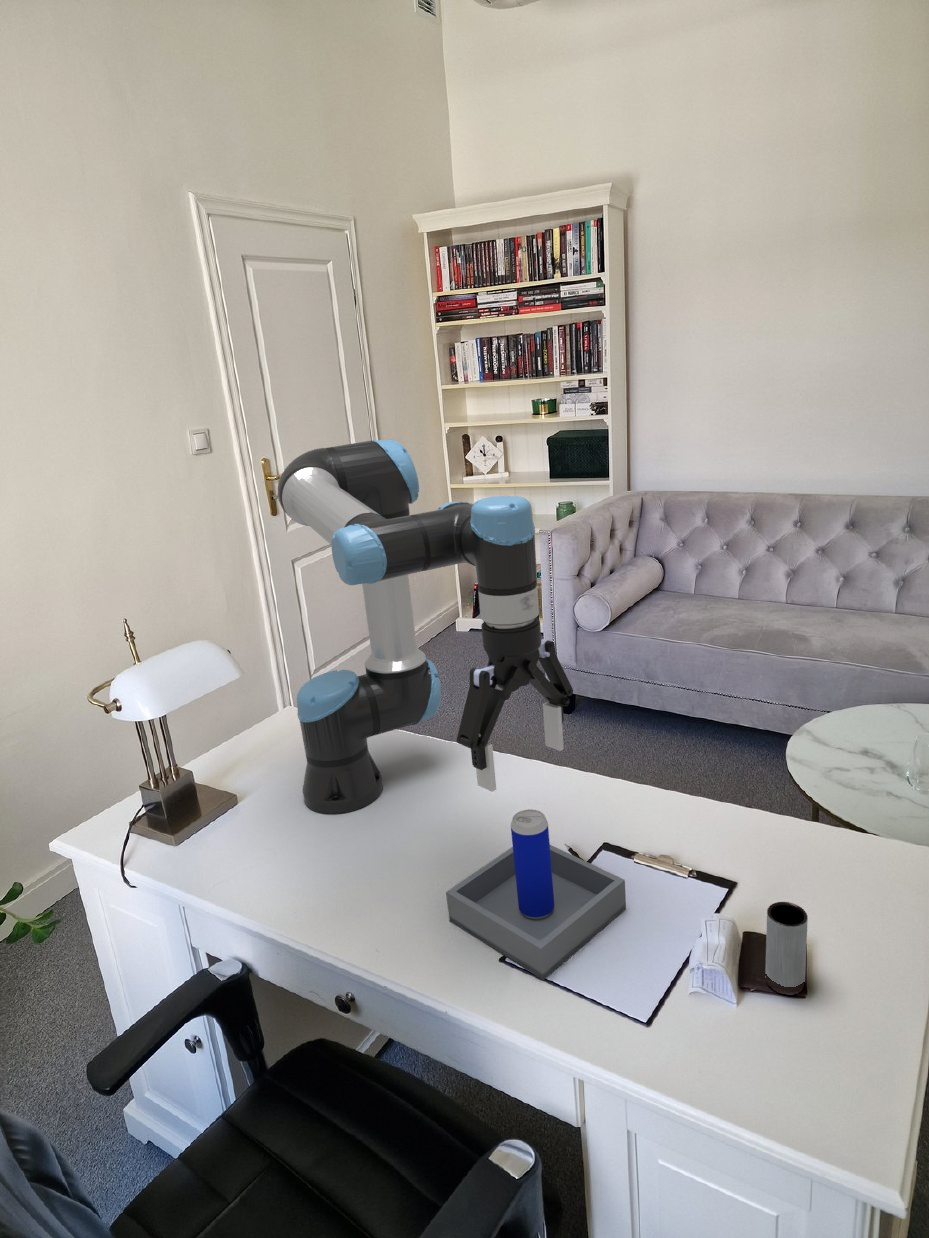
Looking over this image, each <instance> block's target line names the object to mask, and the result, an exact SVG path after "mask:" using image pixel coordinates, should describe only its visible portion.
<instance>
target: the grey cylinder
mask: <svg viewBox="0 0 929 1238" xmlns="http://www.w3.org/2000/svg"><path fill="white" fill-rule="evenodd" d="M808 922H809V921H808V913H807V912H806V911H805V910H804V908H803V907H801V906H800V905H798V904H796V903H793V902H789V901H778V902H774V903H772V904H770V905H769V906H768V907H767V910H766V931H765V932H766V940H765V974H767V976H768V977H769V978H770V979H771V980H772V981H774V982H776V983H777V984H780V985H781V986H784V987H796V986H798V985H800V984H802V983H803V982H805V983H806V968H807V967H806V965H807V945H808V944H807V943H808V942H807V940H808Z"/></svg>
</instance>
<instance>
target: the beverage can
mask: <svg viewBox="0 0 929 1238" xmlns="http://www.w3.org/2000/svg"><path fill="white" fill-rule="evenodd" d="M549 830H550V829H549V822H548V820H547V818H546V815H545V814H544V813H543V812H542V811H540V810H537V809H523V810H520V811H518V812H516V813H515V814H514V815H513V816H512V819H511V823H510V831H511V840H512V841H511V842H512V847H513V855H514V865H515V875H516V886H517V896H518V907H519V910H520V911H521V913H522V914H523V915H525V916H526V917H528V918H531V919H541V918H544V917H546V916H548V915H549V914H550V913H551V912H552V911H553V909H554V893H553V880H552V868H551V855H550V845H551V844H550V835H549V833H550V831H549Z"/></svg>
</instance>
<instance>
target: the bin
mask: <svg viewBox="0 0 929 1238" xmlns="http://www.w3.org/2000/svg"><path fill="white" fill-rule="evenodd" d="M550 855H551V868H552V880H553V893H554V909H553V911H552V912H551V913H550V914H549V915H548V916H546V917H544V918H541V919H531V918H528V917H526V916H525V915H523V914H522V913H521V911H520V910H519V907H518V896H517V886H516V875H515V865H514V855H513V846H512V847H510V848H508V849H507V850H505V852H503V853H501V854H500V855H498V856H497V857H496V858H494V859H492V860H491V861H490V862H488V863H486V864H485V865H484V866H482V867H480V868H479V869H478V870H477V871H474V872H473V873H472V874H470V875H469V876H467V877H466V878H464V879H462V880H461V881H460V882H459V883H457V884H455V885H454V886H452V888H450V889H448V890H447V891H445V895H446V904H447V911H448V913H447V914H448V921H449V923H452V924H453V925H455V926H457V927H458V928H459V929H461V930H463V931H464V932H466V933H467V934H469V935H471V936H472V937H474V938H476V939H477V940H479V941H480V942H482V943H483V944H485V945H486V946H488V947H490V948H492V949H493V950H495V951H496V952H498V953H499V954H501V955H502V956H504V957H506V958H507V959H508V960H510V961H512V962H513V963H515V964H517V965H518V966H520V967H521V968H523V969H524V970H526V971H528V972H529V973H531V974H532V975H534V976H536V977H537V978H539V979H540V980H542V981H545V980H546V979H548V977H549V976H550V975H552V974H553V973H554V972H555V971H556V970H558V969H559V968H560V967H561V966H562V965H564V964H565V963H566V962H567V961H568V960H569V959H570V958H572V957H573V955H575V954H576V953H577V952H579V951H580V950H581V949H582V948H583V947H585V946H586V945H587V944H588V943H589V942H590V941H592V939H593V938H594V937H596V936H597V935H598V934H599V933H600V932H602V931H603V930H604V929H605V928H606V927H607V926H609V925H610V924H611V923H612V922H613V921H614V920H615V919H617V918H618V917H619V916H620V915H621V914H623V912H625V911H626V910H627V905H626V904H627V902H626V900H627V899H626V897H627V896H626V880H625V879H624V878H622V877H619V876H617V875H615V874H614V873H611V872H610V871H607V870H605V869H603V868H601V867H599V866H597V865H594V864H592V863H590V862H588V861H586V860H583V859H582V858H579V857H578V856H575V855H574V854H571V853H569V852H567V851H564V850H562V849H560V848H558V847H556V846H554V845H552V844H550Z"/></svg>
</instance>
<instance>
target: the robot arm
mask: <svg viewBox="0 0 929 1238" xmlns="http://www.w3.org/2000/svg"><path fill="white" fill-rule="evenodd" d="M419 493H420V485H419V477H418V473H417V470H416V467H415V464H414V462H413V459H412V458H411V455H410V453H409V451H407V449H406V448H405V446H404V445H402V443H400V442H399V441H398V440H394V439H378V440H377V439H372V440H366V441H360V442H354V443H348V444H342V445H341V444H340V445H337V446H336V445H335V446H330V447H319V448H314V449H311V450H308V451H306V452H304V453H302V454H300V455H299V456H297V457H295V458H294V459H293V460H292V461H291V462H290V463H289V464H288V465H287V466H286V467H285V469H284V470H283V472H282V473H281V475H280V477H279V480H278V485H277V499H278V502H279V504H280V507H281V508H282V510H283V512H284V513H285V514H286V515H287V516H288V517H289V518H290V519H291V520H293V522H296V524H299V525H301V526H306V527H310V528H311V529H312V530H314V532H315V533H316V534H318V535H319V536H321V538H323V539H324V540H325V542H327V543H328V544H330V545H331V547H330V548H331V555H332V559H333V560H332V561H333V563H334V567H335V570H336V572H337V574H338V576H339V578H340V580H341V581H342V582H343V583H344V584H345V585H349V586H355V585H356V586H357V585H362V586H361V587H362V591H363V592H362V593H363V600H364V607H365V608H364V609H365V614H366V621H367V630H368V636H369V637H368V638H369V643H370V650H371V651H370V652H371V654H370V655H368V657H367V658H366V660H365V663H364V666H365V667H364V668H365V674H361V675H357V674H356V673H355V672H354V671H352V670H349V669H341V670H337V669H336V670H332V671H327V672H324V673H321V674H319V675H317V676H314V677H312V678H311V679H309V680H308V681H306V682H305V683H304V684H303V685H302V686H301V687H300V689H299V690H298V691H297V695H296V706H297V707H296V709H297V718H298V720H299V725H300V730H301V735H302V741H303V747H304V753H305V758H306V766H305V774H304V778H303V779H304V780H303V786H302V797H303V802H304V804H305V805H306V807H307V808H309V809H310V810H312V811H314V812H317V813H321V814H332V815H333V814H342V813H343V814H344V813H349V812H353V811H356V810H359V809H362V808H364V807H366V806H368V805H370V804H372V803H373V802H374V801H376V799H378V798H379V797H380V796H381V794H382V793H383V789H384V783H383V777H382V774H381V772H380V770H379V768H378V766H377V764H376V763H375V761H374V759H373V756H372V754H371V752H370V751H369V745H368V738H371V737H373V736H377V735H381V734H385V733H388V732H392V731H396V730H399V729H403V728H407V727H409V726H416V725H418V724H420V723H421V722H424V721H427V720H431V718H434V717H435V715H436V713H437V712H438V711H439V708H440V706H441V699H442V687H441V680H440V678H439V672H438V670H437V667H436V665H435V664H434V662H432V660H430V659H428V658H427V656H426V654H425V652H423V651H422V650H421V649H419V648H418V647H417V646H418V645H417V638H416V631H415V630H416V628H415V622H414V611H413V603H412V595H411V588H410V578H409V575H412V574H416V573H421V572H427V571H430V570H431V571H432V570H435V569H441V568H445V567H449V566H454V565H459V564H464V563H466V564H469V565H471V566H473V567H475V571H476V580H477V591H478V593H477V594H478V604H479V614H480V620H481V621H483V622H482V624H481V625H480V626H481V636H482V638H481V639H482V646H483V650H484V652H485V653H486V655H487V657H488V662H487V665H486V666H485V667H483V668H480V669H479V668H477V667H471V668H470V670H469V687H468V691H467V695H466V698H465V699H466V700H465V704H464V708H463V711H462V717H461V720H460V725H459V728H458V732H457V736H456V743H457V744H459V745H461V746H463V747H466V748H468V749H470V752H471V753H470V754H471V763H472V764H471V765H472V766H473V767H474V768H475V770H476V779H477V786H478V787H481V788H482V789H485V790H488V791H489V792H494V791H495V792H496V790H497V782H496V772H495V771H496V770H495V761H494V760H495V759H494V758H495V757H494V750H493V749H494V748H493V743H490V742H489V740H490V737H491V736H492V733H493V731H494V728H495V725H496V723H497V721H498V718H499V716H500V714H501V711H502V709H503V706H504V704H505V702H506V701H507V700H508V699H510V698H511V695H512V693H513V692H515V691H517V690H519V689H520V688H521V687H525V686H528V685H529V684H531V686H532V687H534V689H536V691H537V692H538V693H539V694H540V695H542V697H543V698H544V699H545V700H546V701H545V702H544V703H542V715H543V728H544V741H545V747H548V748H551V749H554V750H556V751H559V752H561V751H563V750H564V735H563V734H564V731H563V724H564V719H565V718H564V717H565V716H564V707H568V705H569V704H570V698H569V697H571V696H572V695H573V694H574V689H573V687H572V684H571V682H570V680H569V678H568V676H567V673H566V672H565V670H564V668H563V665H561V662H560V660H559V658H558V656H557V653H556V646H555V642H554V641H552V640H548V639H545V638H542V632H541V630H542V629H541V620H540V619H539V618H538V616H539V615H540V610H539V609H540V608H539V607H540V606H539V593H538V581H537V580H538V577H537V575H538V573H537V556H536V555H537V554H536V537H535V534H536V527H535V523H534V520H533V519H534V518H533V512H532V505H531V503H530V501H529V500H528V499H527V498H525V497H523V496H519V495H495V496H488V497H485V498H481V499H478V500H476V501H475V502H473V503H469V502H467V501H449V502H446V503H444V504H442V505H441V506H439V507H438V508H437V509H436V510H431V511H427V512H426V511H425V512H420V513H416V514H411V515H410V513H411V512H410V505H409V504H411V505H412V504H414V502H417V500H418V498H419ZM538 661H539V663H540V664H541V667H542V669H543V671H544V672H543V671H542V669H540V668H539V667H538V665H537V664H538ZM545 675H546V676H545ZM497 686H498V687H499V688H500V689H498V688H496V687H497ZM479 735H480V736H479Z"/></svg>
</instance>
